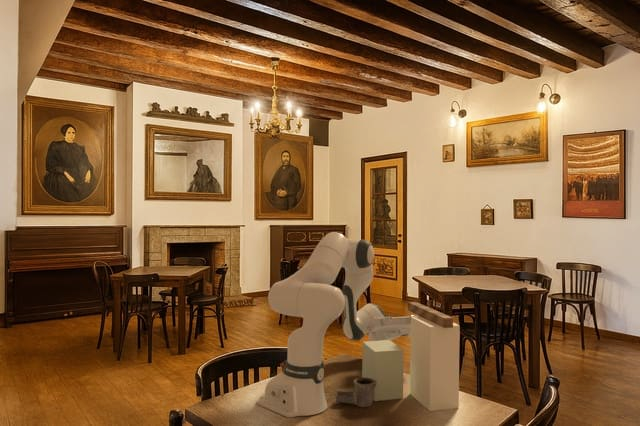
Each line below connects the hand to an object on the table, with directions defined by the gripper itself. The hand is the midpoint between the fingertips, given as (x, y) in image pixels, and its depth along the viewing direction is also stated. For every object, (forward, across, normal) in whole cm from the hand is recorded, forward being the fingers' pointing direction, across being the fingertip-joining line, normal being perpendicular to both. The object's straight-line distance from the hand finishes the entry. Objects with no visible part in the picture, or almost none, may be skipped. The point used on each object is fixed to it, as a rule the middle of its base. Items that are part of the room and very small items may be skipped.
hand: (402, 317), depth 174 cm
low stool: (+2, -14, +26) cm, 30 cm away
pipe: (+8, -26, +30) cm, 41 cm away
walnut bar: (+20, 0, +7) cm, 21 cm away
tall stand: (+11, 0, +31) cm, 33 cm away
